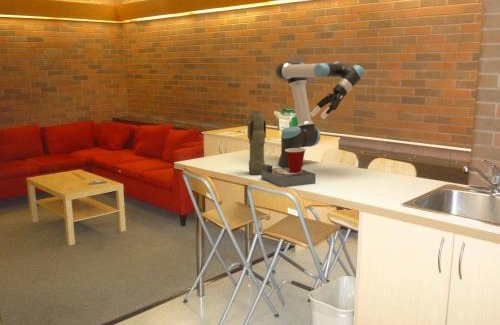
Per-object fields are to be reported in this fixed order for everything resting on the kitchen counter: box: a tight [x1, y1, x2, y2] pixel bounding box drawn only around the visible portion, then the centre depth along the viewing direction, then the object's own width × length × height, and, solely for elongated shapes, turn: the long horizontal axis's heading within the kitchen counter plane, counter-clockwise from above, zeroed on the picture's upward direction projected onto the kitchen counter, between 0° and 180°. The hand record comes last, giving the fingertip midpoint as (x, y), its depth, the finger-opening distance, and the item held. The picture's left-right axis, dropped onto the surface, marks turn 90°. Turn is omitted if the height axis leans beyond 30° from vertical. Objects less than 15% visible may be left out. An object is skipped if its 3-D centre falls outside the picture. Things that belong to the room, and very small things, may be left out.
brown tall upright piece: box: [247, 110, 267, 176], centre depth 273 cm, size 9×12×35 cm
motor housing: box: [260, 163, 317, 188], centre depth 257 cm, size 22×20×8 cm
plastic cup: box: [285, 147, 306, 172], centre depth 253 cm, size 11×11×12 cm
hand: (316, 116), depth 267 cm, fingers open, 13 cm apart
